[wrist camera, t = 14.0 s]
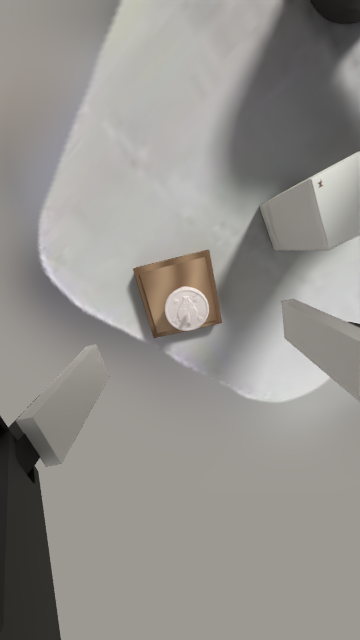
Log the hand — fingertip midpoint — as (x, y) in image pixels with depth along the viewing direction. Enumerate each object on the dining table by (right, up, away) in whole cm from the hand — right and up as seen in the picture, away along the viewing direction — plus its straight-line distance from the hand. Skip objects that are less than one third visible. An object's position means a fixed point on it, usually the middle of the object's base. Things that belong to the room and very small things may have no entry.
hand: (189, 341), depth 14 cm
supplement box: (+20, +20, +23) cm, 37 cm away
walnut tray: (-1, +7, +28) cm, 29 cm away
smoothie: (0, +6, +24) cm, 25 cm away
